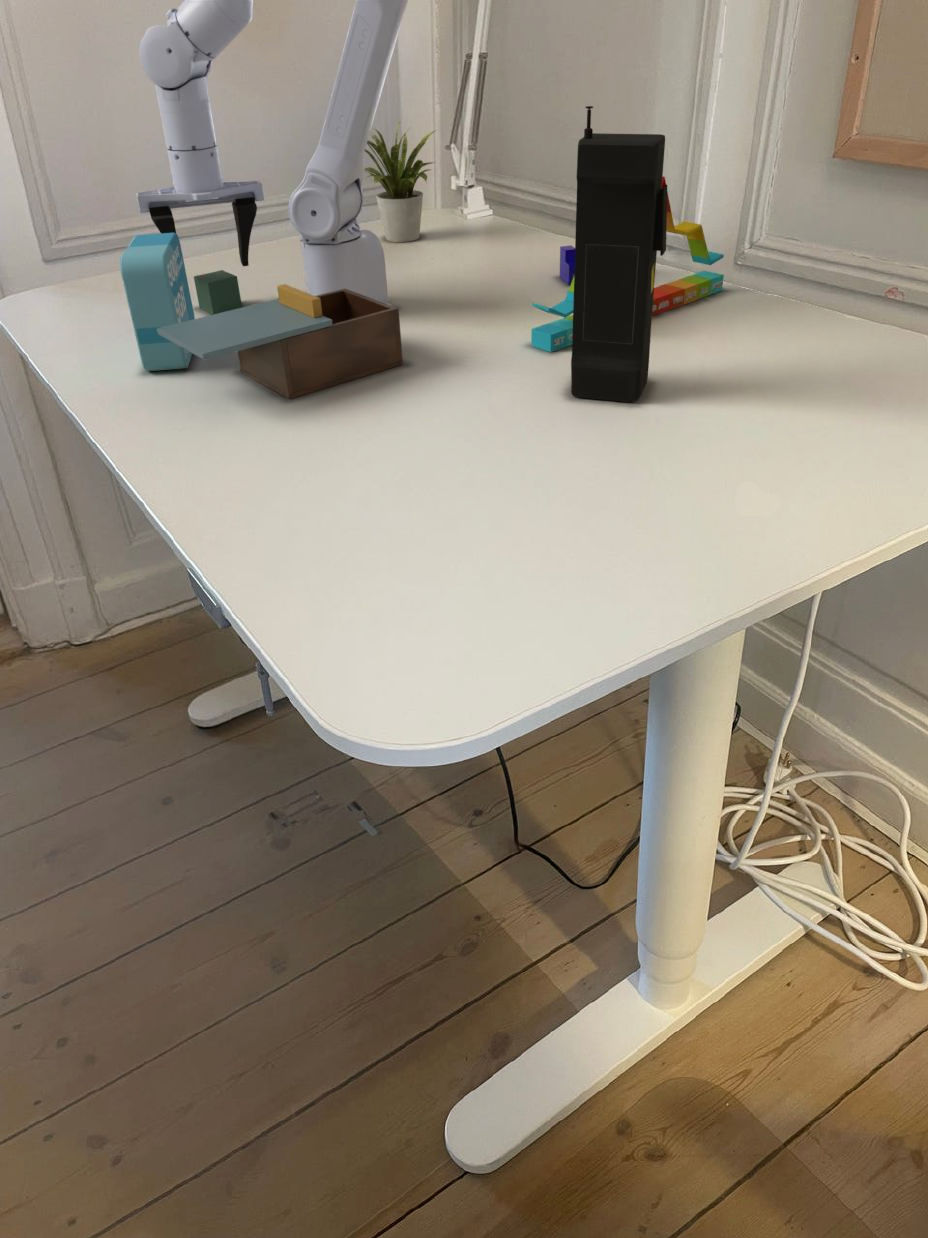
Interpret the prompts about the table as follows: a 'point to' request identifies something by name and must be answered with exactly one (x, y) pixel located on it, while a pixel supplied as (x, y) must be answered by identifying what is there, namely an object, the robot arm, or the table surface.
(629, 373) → the portable radio
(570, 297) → the chart
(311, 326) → the sliding box lid
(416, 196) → the house plant
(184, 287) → the data package
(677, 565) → the table surface
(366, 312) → the case
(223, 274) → the block
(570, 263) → the cable holder
